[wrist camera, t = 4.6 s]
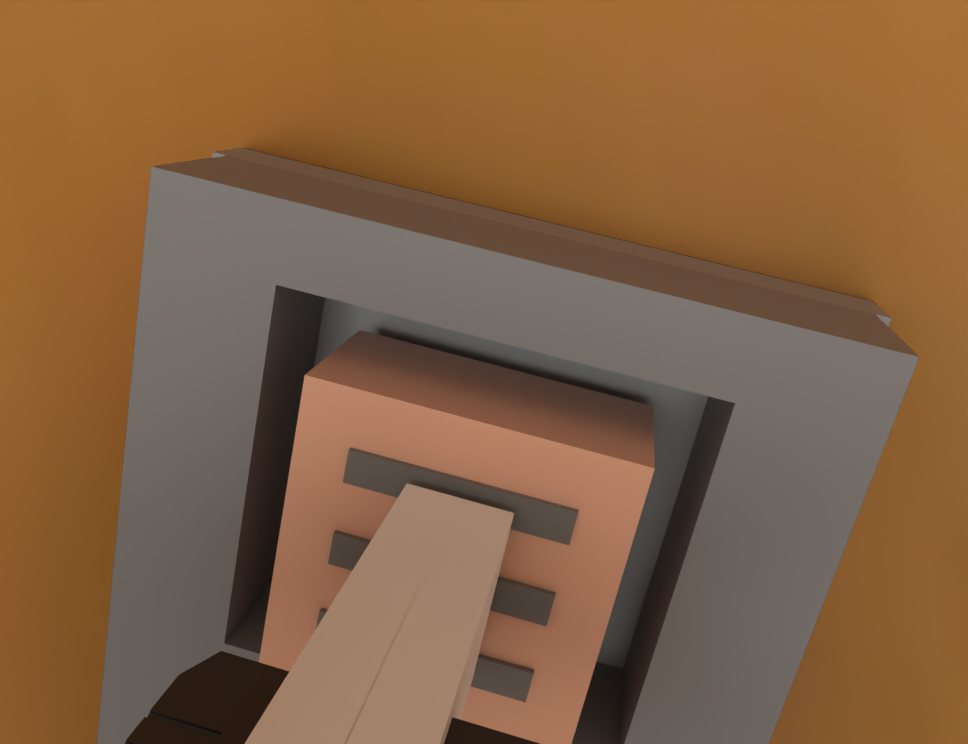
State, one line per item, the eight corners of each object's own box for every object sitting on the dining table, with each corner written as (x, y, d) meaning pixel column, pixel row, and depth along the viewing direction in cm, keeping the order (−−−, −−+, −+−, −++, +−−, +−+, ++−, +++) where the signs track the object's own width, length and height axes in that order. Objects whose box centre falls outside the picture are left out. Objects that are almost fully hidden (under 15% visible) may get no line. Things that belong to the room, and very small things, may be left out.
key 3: (315, 584, 16) (255, 672, 14) (360, 330, 15) (302, 377, 12) (578, 660, 16) (566, 766, 13) (654, 406, 14) (655, 471, 12)
